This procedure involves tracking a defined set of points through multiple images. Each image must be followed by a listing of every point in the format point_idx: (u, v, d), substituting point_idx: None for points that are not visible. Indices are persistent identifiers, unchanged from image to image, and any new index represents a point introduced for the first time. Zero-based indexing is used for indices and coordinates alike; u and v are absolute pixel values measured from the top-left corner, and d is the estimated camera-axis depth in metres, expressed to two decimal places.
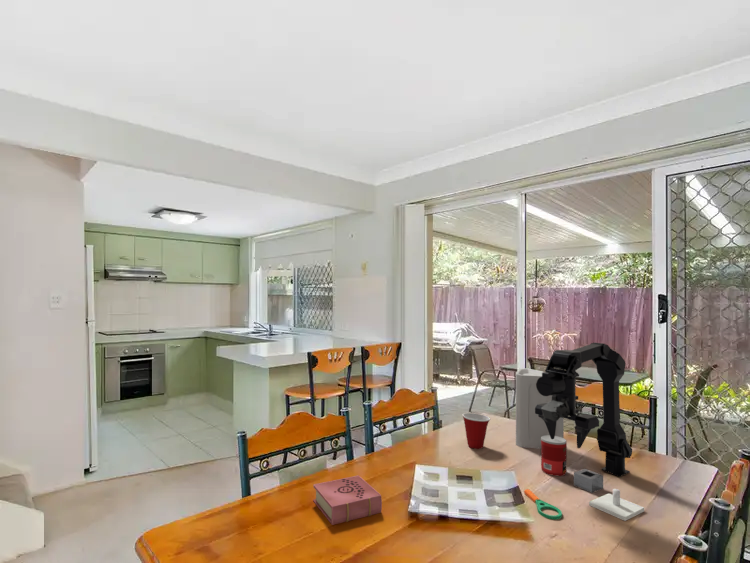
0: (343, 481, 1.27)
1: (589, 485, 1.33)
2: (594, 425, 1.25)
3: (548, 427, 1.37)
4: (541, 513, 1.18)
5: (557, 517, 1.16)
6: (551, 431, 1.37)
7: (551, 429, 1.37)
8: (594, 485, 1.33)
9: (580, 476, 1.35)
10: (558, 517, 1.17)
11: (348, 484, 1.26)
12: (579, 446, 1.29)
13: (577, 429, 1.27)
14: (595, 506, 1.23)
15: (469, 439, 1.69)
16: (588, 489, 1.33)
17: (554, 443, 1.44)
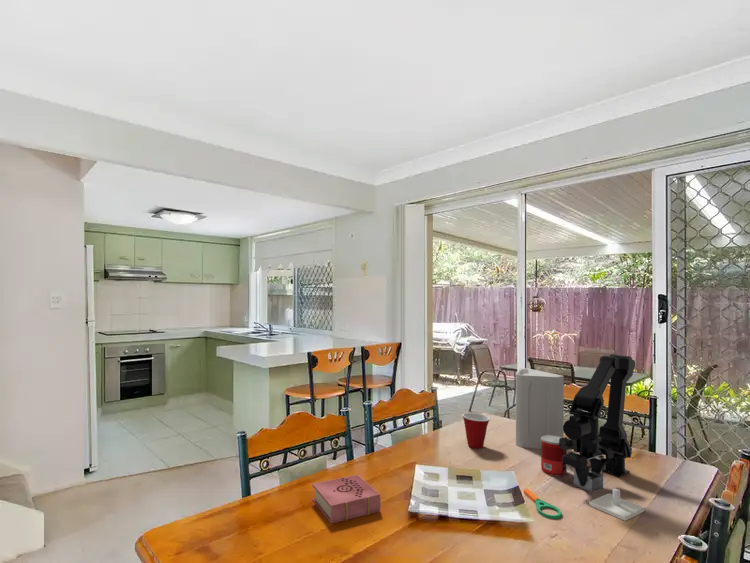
0: (342, 480, 1.28)
1: (589, 485, 1.33)
2: (571, 464, 1.31)
3: None
4: (540, 512, 1.19)
5: (556, 516, 1.17)
6: None
7: None
8: (594, 485, 1.33)
9: None
10: (557, 516, 1.17)
11: (347, 483, 1.26)
12: (580, 483, 1.34)
13: None
14: (595, 506, 1.23)
15: (469, 439, 1.69)
16: (588, 489, 1.33)
17: (554, 443, 1.44)
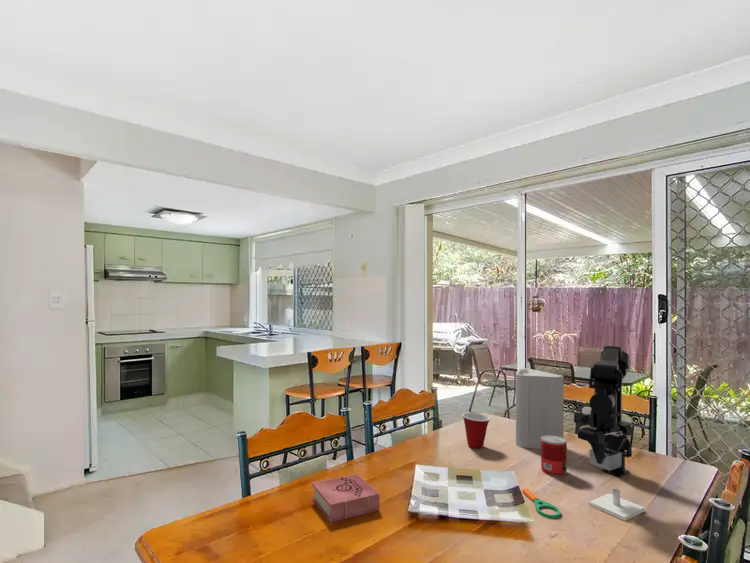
0: (342, 480, 1.28)
1: (607, 462, 1.24)
2: (587, 439, 1.22)
3: None
4: (540, 512, 1.19)
5: (556, 516, 1.17)
6: None
7: (610, 448, 1.29)
8: (612, 462, 1.24)
9: None
10: (557, 516, 1.17)
11: (346, 482, 1.27)
12: (597, 461, 1.26)
13: None
14: (595, 506, 1.23)
15: (469, 439, 1.69)
16: (605, 467, 1.24)
17: (554, 443, 1.44)
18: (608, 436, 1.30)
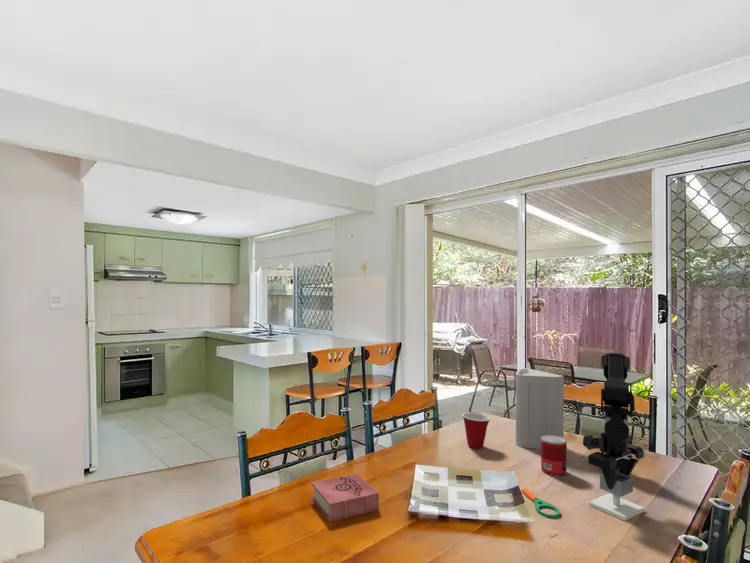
0: (341, 479, 1.29)
1: (618, 488, 1.19)
2: (598, 465, 1.18)
3: None
4: (539, 512, 1.19)
5: (555, 516, 1.17)
6: None
7: (620, 472, 1.25)
8: (624, 488, 1.20)
9: None
10: (556, 516, 1.17)
11: (345, 482, 1.27)
12: (608, 486, 1.21)
13: None
14: (595, 506, 1.23)
15: (469, 439, 1.69)
16: (617, 493, 1.20)
17: (554, 443, 1.44)
18: (618, 459, 1.26)
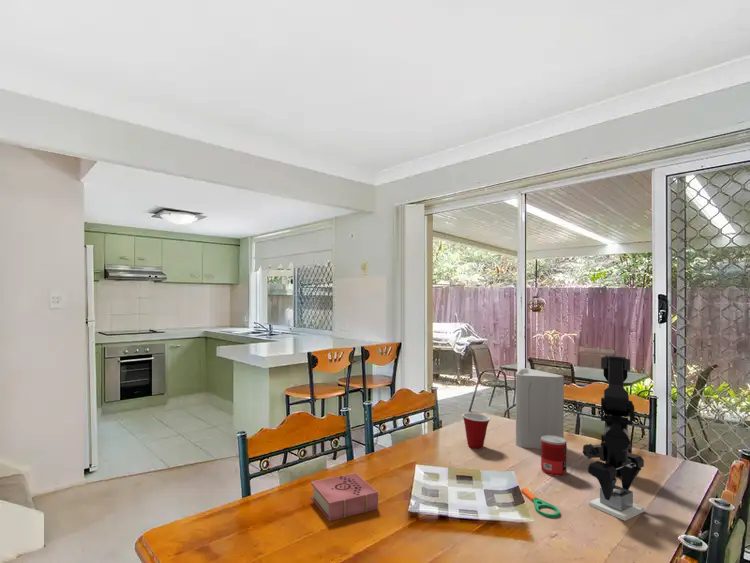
0: (341, 479, 1.29)
1: (618, 502, 1.19)
2: (598, 474, 1.18)
3: None
4: (539, 512, 1.19)
5: (555, 515, 1.17)
6: (623, 482, 1.26)
7: (623, 480, 1.26)
8: (624, 503, 1.19)
9: None
10: (556, 515, 1.17)
11: (345, 481, 1.27)
12: (605, 497, 1.20)
13: None
14: (595, 506, 1.23)
15: (469, 439, 1.69)
16: (617, 507, 1.20)
17: (554, 443, 1.44)
18: (621, 467, 1.27)
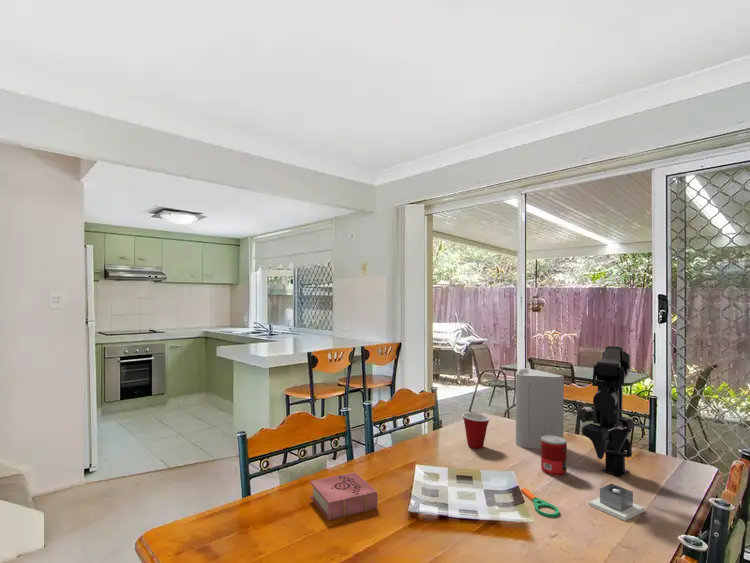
0: (340, 478, 1.30)
1: (618, 502, 1.19)
2: (592, 435, 1.27)
3: None
4: (538, 511, 1.19)
5: (554, 515, 1.18)
6: (614, 443, 1.35)
7: (615, 441, 1.35)
8: (624, 503, 1.19)
9: (607, 493, 1.22)
10: (555, 515, 1.18)
11: (344, 481, 1.28)
12: (598, 456, 1.30)
13: None
14: (595, 506, 1.23)
15: (469, 439, 1.69)
16: (617, 507, 1.20)
17: (554, 443, 1.44)
18: (613, 430, 1.36)
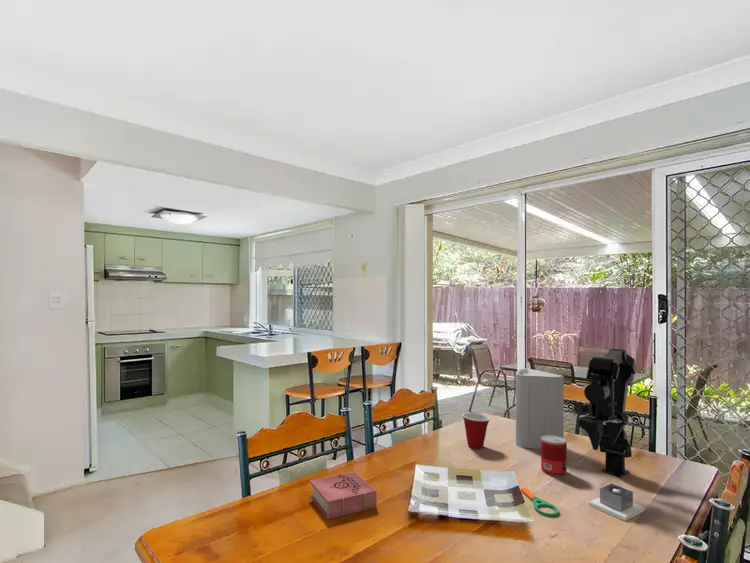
0: (339, 477, 1.30)
1: (618, 502, 1.19)
2: (587, 426, 1.32)
3: None
4: (538, 511, 1.20)
5: (554, 514, 1.18)
6: (609, 436, 1.40)
7: (610, 434, 1.40)
8: (624, 503, 1.19)
9: (607, 493, 1.22)
10: (555, 514, 1.18)
11: (343, 480, 1.28)
12: (593, 447, 1.35)
13: None
14: (595, 506, 1.23)
15: (469, 439, 1.69)
16: (617, 507, 1.20)
17: (554, 443, 1.44)
18: (608, 423, 1.41)
